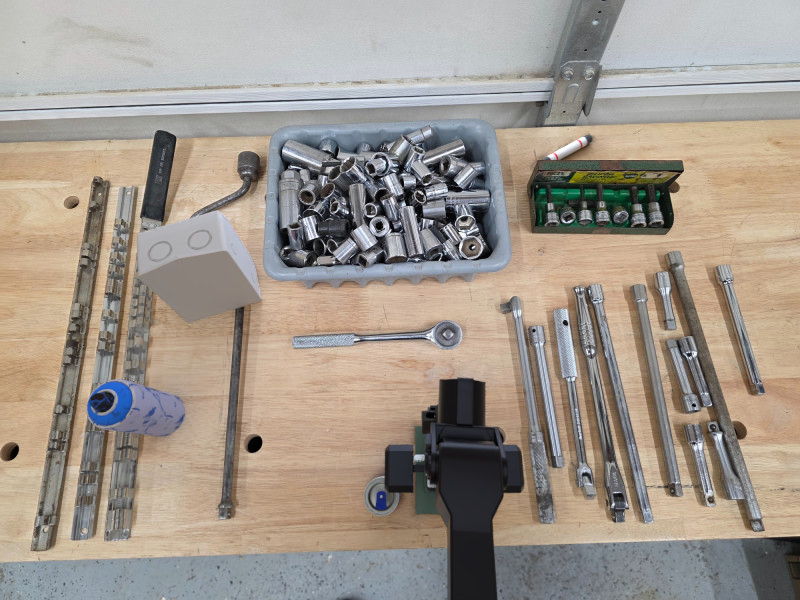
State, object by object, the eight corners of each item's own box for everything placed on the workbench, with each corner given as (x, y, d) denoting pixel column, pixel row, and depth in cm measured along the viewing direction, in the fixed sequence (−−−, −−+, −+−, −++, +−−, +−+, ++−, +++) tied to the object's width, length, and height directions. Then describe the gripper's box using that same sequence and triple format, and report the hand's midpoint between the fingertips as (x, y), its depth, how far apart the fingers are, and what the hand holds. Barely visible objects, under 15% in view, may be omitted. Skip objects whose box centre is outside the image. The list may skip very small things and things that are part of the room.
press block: (475, 513, 76) (478, 515, 72) (415, 513, 76) (416, 515, 72) (470, 426, 81) (473, 424, 77) (414, 426, 81) (415, 424, 77)
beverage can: (401, 507, 76) (399, 516, 62) (371, 507, 76) (362, 516, 62) (401, 475, 78) (399, 477, 64) (372, 475, 78) (363, 476, 64)
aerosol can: (193, 394, 84) (130, 373, 65) (185, 438, 81) (118, 429, 62) (151, 393, 84) (76, 372, 65) (142, 438, 81) (62, 429, 62)
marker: (584, 138, 102) (588, 132, 100) (590, 144, 101) (593, 138, 99) (530, 168, 99) (532, 162, 97) (535, 174, 99) (537, 169, 97)
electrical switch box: (253, 246, 97) (213, 180, 79) (265, 304, 90) (223, 245, 72) (185, 266, 95) (129, 203, 78) (191, 326, 88) (131, 272, 71)
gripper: (528, 401, 58) (504, 414, 72) (382, 401, 58) (388, 414, 73) (537, 496, 54) (510, 489, 69) (381, 495, 54) (387, 489, 69)
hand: (448, 468), depth 70 cm, fingers closed
